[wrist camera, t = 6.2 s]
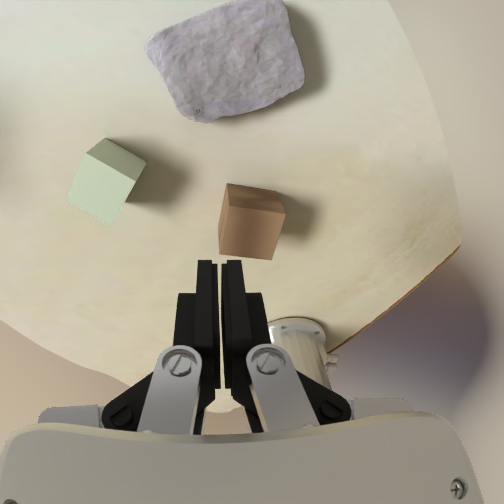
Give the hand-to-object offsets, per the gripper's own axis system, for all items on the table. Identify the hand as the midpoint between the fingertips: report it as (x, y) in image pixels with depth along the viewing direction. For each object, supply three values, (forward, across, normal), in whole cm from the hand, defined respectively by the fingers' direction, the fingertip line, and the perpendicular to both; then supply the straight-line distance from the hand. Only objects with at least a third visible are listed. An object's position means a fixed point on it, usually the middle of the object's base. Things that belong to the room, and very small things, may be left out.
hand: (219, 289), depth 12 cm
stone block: (+19, -1, -9) cm, 21 cm away
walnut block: (+19, -3, +5) cm, 20 cm away
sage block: (+19, +10, +1) cm, 21 cm away
